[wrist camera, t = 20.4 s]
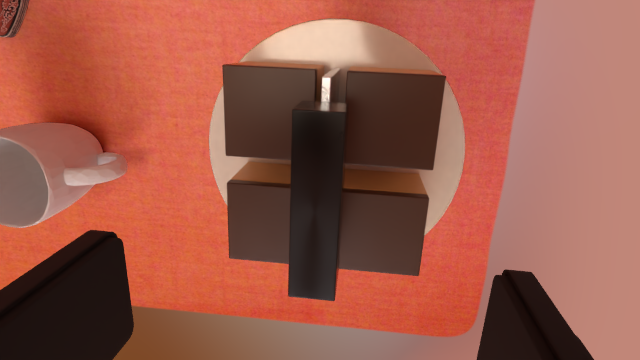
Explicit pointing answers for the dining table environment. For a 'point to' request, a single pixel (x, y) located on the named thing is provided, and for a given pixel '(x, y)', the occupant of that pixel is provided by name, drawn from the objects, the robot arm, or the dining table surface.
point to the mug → (49, 170)
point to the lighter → (11, 16)
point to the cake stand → (343, 52)
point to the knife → (317, 191)
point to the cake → (362, 149)
